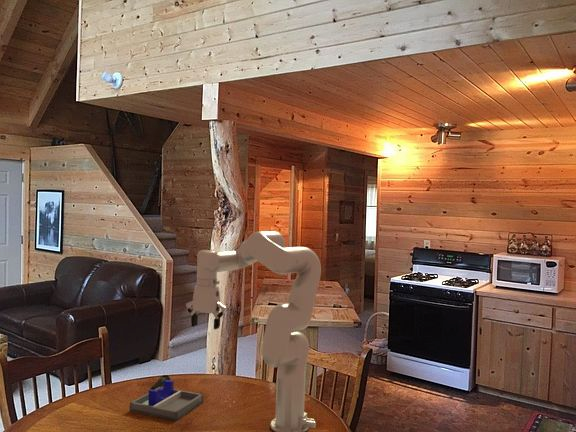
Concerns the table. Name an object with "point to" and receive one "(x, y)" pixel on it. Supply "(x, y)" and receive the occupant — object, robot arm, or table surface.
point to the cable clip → (161, 393)
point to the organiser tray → (168, 405)
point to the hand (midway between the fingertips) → (205, 327)
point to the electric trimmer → (160, 382)
